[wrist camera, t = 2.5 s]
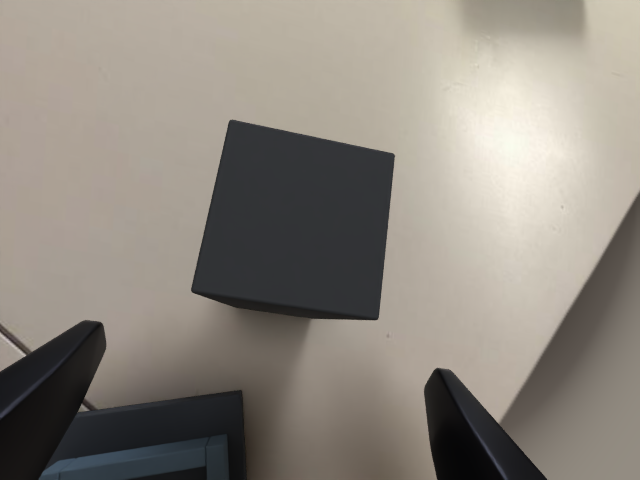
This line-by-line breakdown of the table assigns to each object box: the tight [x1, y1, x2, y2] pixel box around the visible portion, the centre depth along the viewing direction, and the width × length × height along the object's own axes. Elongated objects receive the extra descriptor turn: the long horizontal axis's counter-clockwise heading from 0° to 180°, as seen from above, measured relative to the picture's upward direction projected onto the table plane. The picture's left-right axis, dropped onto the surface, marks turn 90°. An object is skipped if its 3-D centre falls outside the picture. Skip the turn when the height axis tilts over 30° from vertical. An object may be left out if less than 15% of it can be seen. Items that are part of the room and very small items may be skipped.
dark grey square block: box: [191, 120, 395, 320], centre depth 15 cm, size 4×4×12 cm
